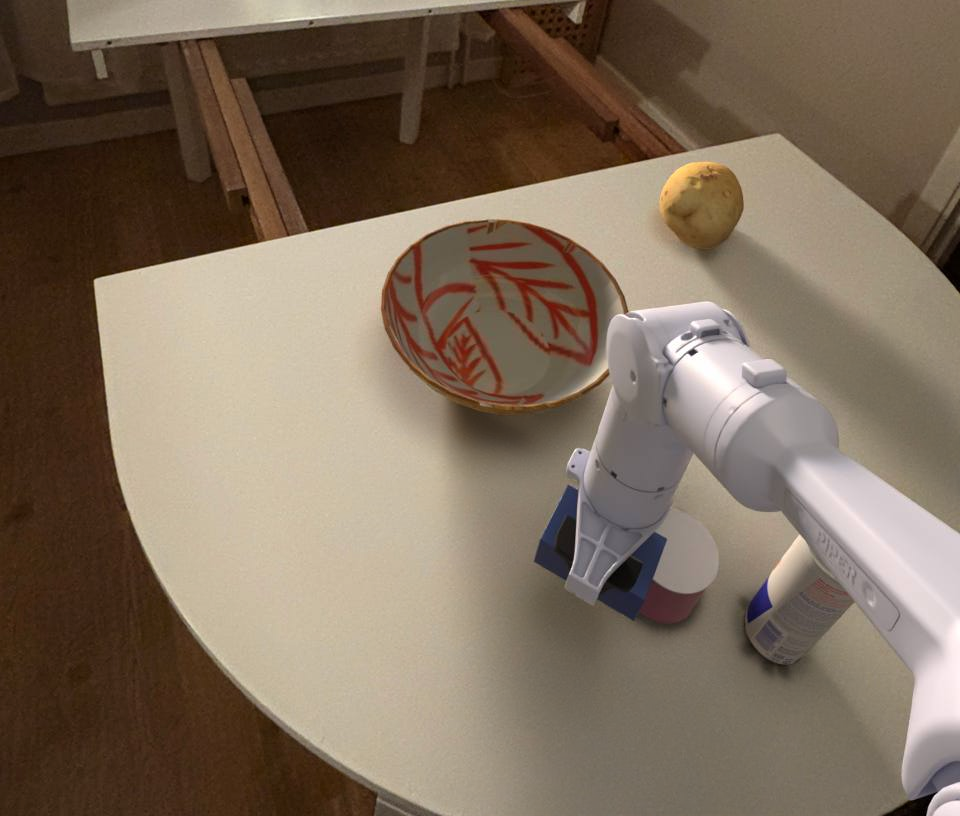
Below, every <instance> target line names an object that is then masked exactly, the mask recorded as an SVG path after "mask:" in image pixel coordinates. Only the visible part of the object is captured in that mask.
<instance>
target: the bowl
mask: <svg viewBox="0 0 960 816" xmlns="http://www.w3.org/2000/svg"><path fill="white" fill-rule="evenodd" d="M380 301H381V303H380V312H381V317H382V323H383V327H384V330H385V333H386V334H387V337H388V339H389V342H390V343H391V345H392V347H393V349H394V351H395V352H396V353H397V354H398V355H399V357H400V358H401V359H402V361H403V362H404V363H405V364H406V366H407V367H408V368H409V369H410V371H412V373H413V374H415V375H416V376H417V377H418V378H419V379H420V380H421V381H423V382H424V383H425V384H426V385H427V386H428V387H429V388H431V389H432V390H433V391H434V392H436V393H438V394H440V395H442V396H443V397H445V398H446V399H448V400H450V401H451V402H453V403H456V404H458V405H461V406H463V407H466V408H470V409H473V410H475V411H480V412H484V413H491V414H496V415H500V416H502V415H503V416H504V415H506V416H507V415H508V416H509V415H511V416H513V415H514V416H517V415H518V416H521V415H522V416H525V415H530V414H531V415H532V414H537V413H542V412H543V413H544V412H548V411H551V410H553V409H556V408H558V407H561V406H563V405H566V404H569V403H572V402H574V401H576V400H578V399H579V398H581V397H583V396H584V395H586V394H587V393H589V392H591V391H592V390H594V389H595V388H597V387H599V386H600V385H601V384H602V383H603V382H604V381H606V379H607V378H608V377H610V373H609V368H608V361H607V349H606V343H607V333H608V328H609V325H610V322H611V320H612V319H613V318H614V317H615V316H616V315H619V314H622V315H625V314H627V313H628V312H630V311H629V308H628V304H627V299H626V297H625V295H624V293H623V291H622V289H621V286H620V285H619V283H618V281H617V279H616V278H615V276H614V275H613V274H612V273H611V271H610V270H609V269H608V268H607V266H606V265H605V264H604V263H603V262H602V261H601V260H600V259H599V258H597V256H595V255H594V254H593V253H592V252H591V251H590V250H589V249H588V248H586V247H584V246H582V245H581V244H580V243H578V242H576V241H575V240H573V239H571V238H570V237H568V236H565V235H563V234H561V233H559V232H557V231H555V230H553V229H550V228H547V227H543V226H541V225H538V224H533V223H530V222H525V221H519V220H514V219H513V220H512V219H502V218H501V219H500V218H484V219H483V218H482V219H473V220H464V221H460V222H456V223H453V224H448V225H444V226H443V227H441V228H437V229H435V230H433V231H431V232H429V233H426V234H425V235H424V236H422V237H420V238H419V239H418V240H416V241H414V242H413V243H411V244H409V246H408V247H407V248H406V249H405V250H404V251H403V252H401V254H400V255H399V256H398V257H397V258H396V260H395V261H394V263H393V265H391V268H390V269H389V271H388V272H387V274H386V277H385V280H384V283H383V287H382V290H381V300H380Z"/></svg>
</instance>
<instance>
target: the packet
mask: <svg viewBox="0 0 960 816" xmlns="http://www.w3.org/2000/svg"><path fill="white" fill-rule="evenodd" d="M577 505H578V488H576V487H574V486H572V485H570V484H569V483H568V484H567V485H566V486H565V488H564V491H563V492H562V494H561V496H560V498H559V500H558V502H557V505H556V506H555V508H554V510H553V512H552V514H551V515H550V518H549V520H548V522H547V524H546V526H545V529H544V530H543V532H542V534H541V536H540V538H539V541H538V545H537V548H536V552H535V555H534V559H533V563H535V564H537V565H538V566H540V567H542V569H543V568H544V569H545V570H546V571H548V572H550V573H552V574H553V575H555V576H556V577H558V578H560V579H561V580H564V581H565V582H566V581H567V578H568V576H569V569H568V565H567V563H566V561H565V560H564V559H563V558H562V557H561V556H560V555H558V554H557V553H556V552H555V550H554V544H555V538H556V535H557V532H558V530H559V528H560V526H561V524H562V522H563V520H564V518H565V516H566V515H568V516H570V517H572V518H574V519H576V520H577ZM666 541H667V538H665V537H663V536H662V535H660V534H658V533H656V532H654V533H653V534H652V535H651V536H650V537H649V538H648V539H647V540H646V541H645V542H644V543H643V544H642V545H641V546H640V547H639V548H638V549H636V550H635V551H634V552H633V553H632V554H631V556H633V557H635V558H637V559H638V560H640V561H642V562H643V566H642V568H641V571H640V574H639V576H638V579H637V582H636V584H635V585H634V587H633V588H632V589H631V590H630V591H628V592H627V593H624V592H622V591H619V590H616V589H609V590H607V591H606V592H604V593H603V594H601V595H599V596H598V597H597V600H596V601H599V602H600V603H602V604H604V605H605V606H607V607H608V608H611V609H612V610H614V611H615V612H617V613H619V614H620V615H622V616H624V617H625V618H627V619H628V620H630V621H632V622H635V620H636V619H637V617H638V616H639V614H640V612H639V611H640V609H641V607H642V605H643V604H644V602H645V599H646V597H647V594H648V591H649V588H650V586H651V583H652V580H653V577H654V575H655V572H656V569H657V566H658V564H659V561H660V558H661V555H662V553H663V550H664V547H665V544H666Z"/></svg>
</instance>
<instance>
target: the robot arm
mask: <svg viewBox="0 0 960 816" xmlns="http://www.w3.org/2000/svg"><path fill="white" fill-rule="evenodd" d="M606 349H607V361H608V368H609V373H610V375H609V377H610V380H611V384H612V386H611V388H610V391H609V395H608V399H607V401H606V404H605V408H604V411H603V414H602V416H601V419H600V422H599V425H598V428H597V431H596V435H595V438H594V441H593V444H592V447H591V450H590V451H589V450H588V449H586V448H583V447H578V448H575V450H574V451H573V453H572V455H571V456H570V459H569V460H568V462H567V464H566V468H565V469H566V470H565V472H566V475H567V476H568V477H569V478H571V479H573V480H574V481H575V482H576V483H577V485H578V488H577V489H578V505H577V520H576V519H574V518H572V517H570V516H568V515H566V516H565V518H564V520H563V522H562V524H561V526H560V528H559V530H558V532H557V535H556V538H555V544H554V550H555V552H556V553H557V554H558V555H560V556H561V557H562V558H563V559H564V560H565V561H566V563H567V565H568V569H569V576H568V578H567V581H565V584H564V587H563V588H564V590H566V591H567V592H569V593H571V594H572V595H573V596H575V597H576V598H579V599H580V600H582V601H584V602H586V603H588V604H589V605H590V606H595V605H596V602H597V601H598V600H597V597H598V596H599V595H601V594H603V593H604V592H606V591H607V590H609V589H616V590H619V591H622V592H624V593H627V592H628V591H630V590H631V589H632V588H633V587H634V585H635V584H636V582H637V579H638V576H639V574H640V571H641V568H642V566H643V562H642V561H640V560H638V559H637V558H635V557H633V556H631V554H632V553H633V552H634V551H635V550H636V549H638V548H639V547H640V546H641V545H642V544H643V543H644V542H645V541H646V540H647V539H648V538H649V537H650V536H651V535H652V534H653V533H654V532H655V531H656V530H657V529H658V528H659V527H660V526H661V525H662V523H663V522H664V521H665V519H666V517H667V515H668V513H669V511H670V509H672V503H673V496H674V495H675V493H676V491H677V489H678V486H679V484H680V482H681V481H682V479H683V477H684V475H685V472H686V470H687V468H688V466H689V464H690V462H691V460H692V458H693V456H694V455H695V457H696V458H697V459H698V460H699V461H700V462H701V463H702V465H703V466H704V467H705V468H706V469H707V470H708V471H709V472H710V473H711V475H712V476H713V477H714V478H715V479H716V480H717V482H719V484H720V485H721V486H722V487H723V488H724V489H725V490H726V491H727V493H728V494H729V495H730V496H731V497H732V498H733V500H735V501H736V502H738V504H740V505H742V506H743V507H744V508H747V509H748V510H749V509H750V510H752V511H756V512H760V513H777V512H781V513H782V514H783V516H784V517H785V518H786V519H787V520H788V522H789V523H790V524H791V525H792V527H793V528H794V529H795V530H796V531H797V532H798V535H799V534H800V535H801V536H802V538H803V539H804V540H805V541H806V543H807V544H808V545H809V546H810V547H811V549H812V550H813V551H814V552H815V554H816V555H817V556H818V557H819V559H820V560H821V561H822V562H823V564H824V565H825V566H826V567H827V569H828V570H829V571H830V572H831V573H832V575H833V576H834V577H835V578H836V580H837V581H838V582H839V583H840V585H841V586H842V587H843V588H844V590H845V591H846V592H847V593H848V595H849V596H850V597H851V598H852V599H853V601H854V603H855V605H856V606H857V607H858V608H859V610H860V611H861V612H862V613H863V615H864V616H865V617H866V618H867V619H868V621H869V622H870V624H871V625H872V626H873V627H874V628H875V629H876V631H877V632H878V633H879V634H880V635H881V637H882V638H883V639H884V641H886V643H887V644H888V645H889V647H890V648H891V649H892V650H893V652H894V653H895V655H896V656H898V658H899V659H900V660H901V662H902V663H903V664H904V665H905V667H906V668H907V669H908V670H909V671H910V673H911V674H912V676H913V678H914V685H913V694H912V701H911V706H910V707H911V708H910V714H909V721H908V727H907V733H906V740H905V747H904V753H903V758H902V765H901V774H900V775H901V783H902V787H903V790H904V793H905V794H906V796H907V798H908V800H909V801H914V800H917V799H920V798H923V797H926V796H929V795H932V794H935V795H934V796H933V797H932V799H931V801H930V803H929V805H928V807H927V811H926V816H960V533H959V532H958V531H956V530H955V529H953V528H952V527H951V526H949V525H948V524H946V523H945V522H943V521H942V520H941V519H939V518H938V517H936V516H935V515H933V514H932V513H931V512H930V511H928V510H927V509H925V508H923V507H922V506H920V504H918V503H916V502H915V501H914V500H912V499H910V498H909V497H907V496H906V495H905V494H903V493H902V492H901V491H899V490H898V489H896V488H895V487H893V486H892V485H891V484H889V483H888V482H886V481H884V480H883V479H882V478H880V477H879V476H878V475H877V474H875V473H873V472H872V471H871V470H869V469H867V468H866V467H864V466H863V464H860V463H859V462H858V461H856V460H855V459H853V458H851V456H849V455H848V454H846V453H844V452H843V451H842V450H841V449H839V448H840V436H839V435H840V434H839V428H838V424H837V422H836V420H835V417H834V415H833V413H832V412H831V410H829V408H828V407H827V406H826V405H825V404H824V403H822V402H821V401H820V400H819V399H817V398H816V397H815V396H814V395H812V394H811V393H810V392H808V391H807V390H805V389H804V388H803V387H801V386H800V385H799V384H797V383H796V382H795V381H794V380H792V379H791V378H790V377H788V371H787V369H786V368H784V367H783V366H782V365H780V364H779V363H778V362H776V361H775V360H774V359H772V358H766V359H765V358H763V357H762V356H761V355H759V354H758V353H757V352H756V351H754V350H753V349H752V348H751V344H750V341H749V338H748V336H747V333H746V331H745V328H744V327H743V325H742V324H741V322H740V321H739V319H738V318H737V316H736V315H734V314H733V312H731V311H729V310H728V309H725V308H721V306H719V305H718V304H716V303H715V302H712V301H699V302H697V301H696V302H690V303H684V304H676V305H668V306H660V307H655V308H654V307H653V308H645V309H637V310H631V311H629V312H628V313H627V314H625V315H622V314H619V315H616V316H615V317H614V318H613V319H612V320H611V322H610V325H609V328H608V333H607V343H606Z"/></svg>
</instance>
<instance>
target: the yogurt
mask: <svg viewBox="0 0 960 816" xmlns="http://www.w3.org/2000/svg"><path fill="white" fill-rule="evenodd" d="M655 532H656V533H658V534H660V535H662V536H663V537H665V538H667V541H666V544H665V547H664V550H663V553H662V555H661V558H660V561H659V564H658V566H657V569H656V572H655V575H654V577H653V580H652V583H651V586H650V588H649V591H648V594H647V597H646V599H645V602H644V604H643V605H642V607H641V609H640V611H639V614H640V615H642V616H644V617H645V618H647V619H649V620H650V621H652V622H656V623H661V624H674V623H679V622H680V621H682V620H685V619H686V618H687V617H688V616H690V614H691V613H692V612H693V610H694V608H696V607H695V606H696V605H697V604H698V602H699V600H700V599H701V597H702V596H703V594H704V593H705V590H706V589H707V588H708V587H710V586H711V585H712V583H713V582H714V581H715V579H716V577H717V575H718V573H719V568H720V555H719V550H718V547H717V543H716V541H715V539H714V538H713V536H712V534H711V532H710V531H709V530H708V529H707V527H706V526H705V525H704V524H703V523H702V522H701V521H699V520H698V519H697V518H696V517H694V516H693V515H691V514H689V513H687V512H685V511H682V510H680V509H675V508H670V511H669V513H668V515H667V517H666V519H665V521H664V522H663V523H662V525H661V526H660V527H659V528H658V529H657V530H656V531H655Z"/></svg>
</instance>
